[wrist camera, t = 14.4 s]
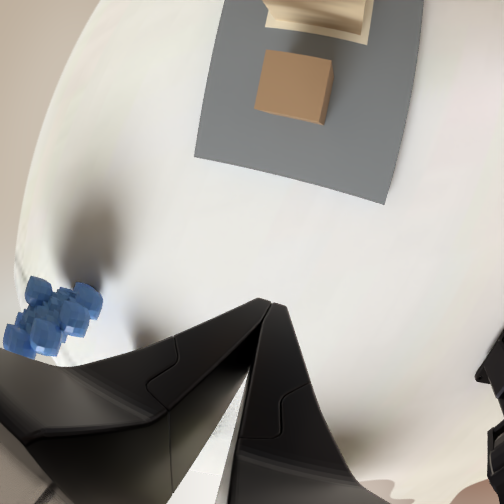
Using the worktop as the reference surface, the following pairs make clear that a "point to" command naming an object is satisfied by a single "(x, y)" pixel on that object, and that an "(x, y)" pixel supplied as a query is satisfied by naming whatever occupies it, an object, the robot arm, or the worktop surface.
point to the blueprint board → (351, 106)
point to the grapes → (51, 318)
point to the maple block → (320, 13)
